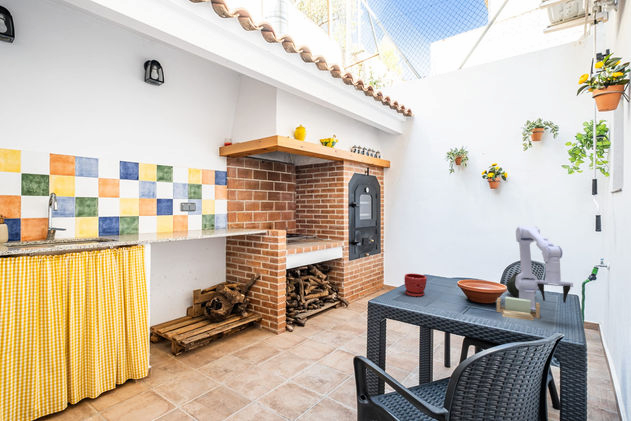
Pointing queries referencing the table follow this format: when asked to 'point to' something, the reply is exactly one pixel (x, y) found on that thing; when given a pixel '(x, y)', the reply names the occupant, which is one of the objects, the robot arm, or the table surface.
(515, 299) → the green sheet
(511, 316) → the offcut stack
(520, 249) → the robot arm
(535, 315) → the oak rack
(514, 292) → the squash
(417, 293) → the plant pot
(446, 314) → the table surface
